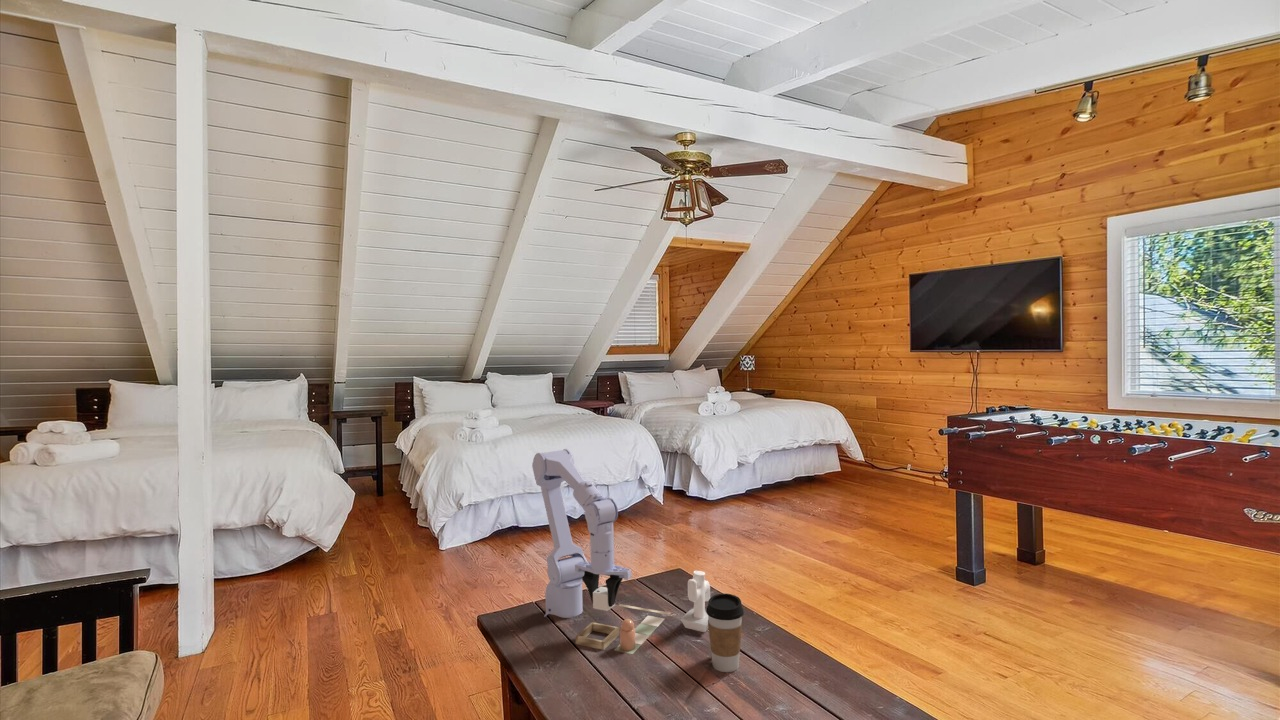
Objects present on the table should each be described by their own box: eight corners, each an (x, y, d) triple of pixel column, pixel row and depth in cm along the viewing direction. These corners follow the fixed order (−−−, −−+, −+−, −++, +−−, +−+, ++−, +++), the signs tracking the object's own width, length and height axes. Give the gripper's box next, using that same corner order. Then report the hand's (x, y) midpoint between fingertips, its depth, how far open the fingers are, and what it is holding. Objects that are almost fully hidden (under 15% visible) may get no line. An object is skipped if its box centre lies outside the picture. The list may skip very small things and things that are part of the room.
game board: (572, 651, 156) (571, 638, 156) (620, 607, 179) (619, 596, 179) (629, 663, 150) (628, 650, 149) (671, 616, 173) (670, 605, 173)
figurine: (720, 625, 167) (719, 568, 167) (704, 641, 159) (704, 581, 159) (694, 619, 171) (693, 563, 170) (678, 634, 163) (677, 575, 162)
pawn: (617, 649, 154) (617, 621, 153) (624, 642, 157) (624, 615, 157) (631, 652, 152) (630, 624, 152) (637, 645, 155) (637, 617, 155)
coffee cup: (747, 659, 151) (746, 595, 150) (740, 678, 143) (739, 610, 142) (711, 653, 153) (710, 591, 152) (702, 672, 145) (702, 605, 145)
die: (593, 608, 160) (592, 592, 160) (600, 602, 164) (600, 586, 164) (607, 611, 159) (607, 594, 158) (615, 604, 162) (614, 588, 162)
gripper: (635, 547, 161) (637, 601, 162) (584, 540, 167) (585, 593, 167) (623, 556, 154) (624, 613, 155) (570, 549, 160) (571, 604, 161)
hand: (603, 603), depth 161 cm, fingers closed on die, 4 cm apart
